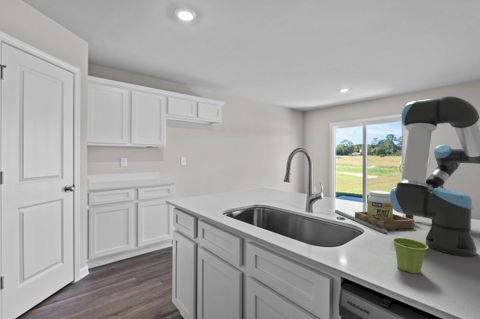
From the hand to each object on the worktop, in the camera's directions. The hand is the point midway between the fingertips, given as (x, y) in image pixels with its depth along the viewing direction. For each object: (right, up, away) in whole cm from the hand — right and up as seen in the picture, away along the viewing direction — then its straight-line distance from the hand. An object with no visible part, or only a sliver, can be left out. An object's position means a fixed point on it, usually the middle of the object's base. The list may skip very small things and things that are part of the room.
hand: (414, 206), depth 130 cm
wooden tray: (-15, -8, -3) cm, 18 cm away
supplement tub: (-20, -9, -2) cm, 22 cm away
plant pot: (-42, -10, -54) cm, 69 cm away
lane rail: (-32, -8, 0) cm, 33 cm away
